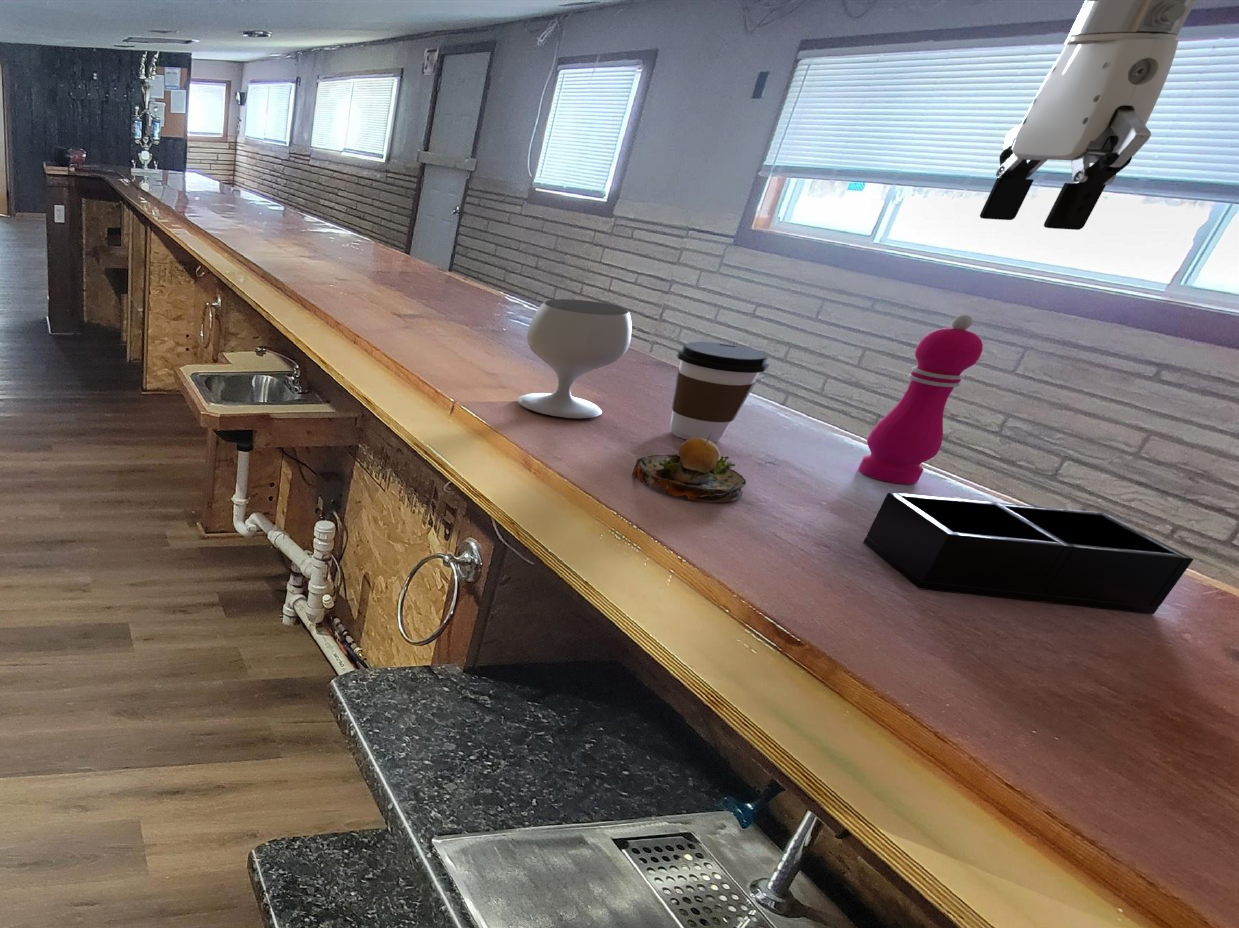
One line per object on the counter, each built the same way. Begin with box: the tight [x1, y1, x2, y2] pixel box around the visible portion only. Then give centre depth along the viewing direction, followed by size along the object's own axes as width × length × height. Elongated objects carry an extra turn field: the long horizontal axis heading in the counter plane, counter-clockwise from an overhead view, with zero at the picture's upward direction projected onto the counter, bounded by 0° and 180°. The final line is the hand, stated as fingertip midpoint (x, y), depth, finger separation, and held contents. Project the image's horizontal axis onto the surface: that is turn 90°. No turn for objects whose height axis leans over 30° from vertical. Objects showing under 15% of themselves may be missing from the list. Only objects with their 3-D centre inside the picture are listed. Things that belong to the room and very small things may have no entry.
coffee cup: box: [670, 341, 770, 443], centre depth 115 cm, size 11×11×12 cm
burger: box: [632, 432, 747, 503], centre depth 99 cm, size 12×12×8 cm
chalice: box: [517, 298, 633, 419], centre depth 123 cm, size 14×14×15 cm
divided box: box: [863, 491, 1194, 615], centre depth 81 cm, size 20×10×6 cm, turn 80°
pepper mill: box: [858, 314, 984, 485], centre depth 102 cm, size 7×7×20 cm
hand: (1027, 223), depth 86 cm, fingers open, 9 cm apart
